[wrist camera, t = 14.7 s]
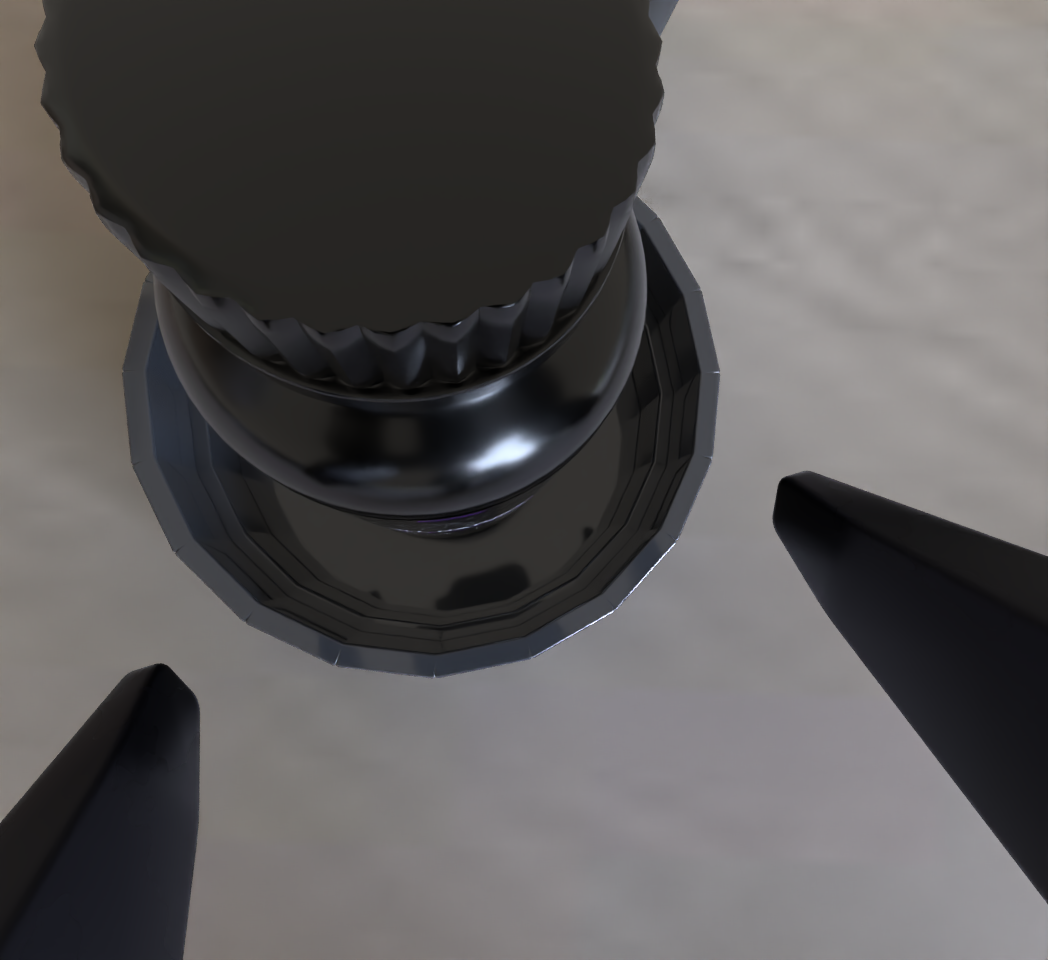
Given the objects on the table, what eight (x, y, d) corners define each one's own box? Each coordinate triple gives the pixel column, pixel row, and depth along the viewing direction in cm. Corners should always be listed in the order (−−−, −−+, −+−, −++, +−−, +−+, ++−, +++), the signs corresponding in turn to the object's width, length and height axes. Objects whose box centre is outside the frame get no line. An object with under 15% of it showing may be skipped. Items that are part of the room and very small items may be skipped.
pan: (549, 722, 16) (574, 782, 12) (125, 518, 16) (-2, 506, 11) (724, 327, 18) (799, 258, 14) (350, 142, 18) (312, 15, 13)
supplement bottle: (449, 591, 16) (358, 709, 4) (266, 425, 16) (-387, 23, 4) (610, 412, 17) (947, 48, 5) (437, 257, 17) (338, -465, 5)
